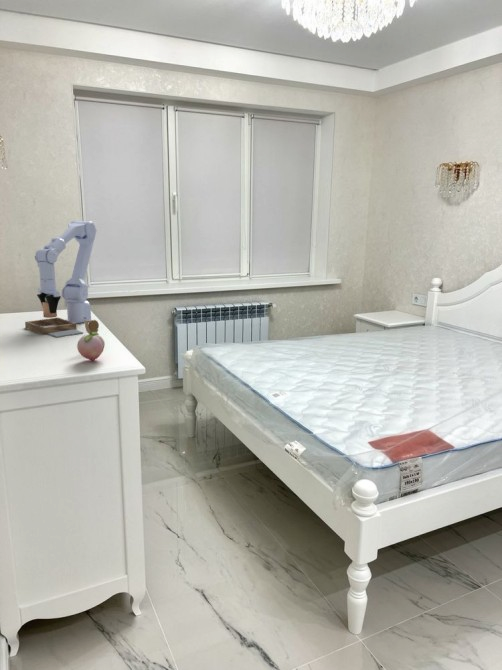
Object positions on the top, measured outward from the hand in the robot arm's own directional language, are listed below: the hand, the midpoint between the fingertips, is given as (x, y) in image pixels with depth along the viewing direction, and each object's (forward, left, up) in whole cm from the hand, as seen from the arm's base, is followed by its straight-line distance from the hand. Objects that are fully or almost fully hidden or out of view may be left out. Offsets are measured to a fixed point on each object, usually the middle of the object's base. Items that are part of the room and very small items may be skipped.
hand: (49, 312), depth 204 cm
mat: (0, +13, -7) cm, 14 cm away
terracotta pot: (0, 0, -2) cm, 2 cm away
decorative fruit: (+12, +52, -7) cm, 54 cm away
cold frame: (0, 0, -7) cm, 7 cm away
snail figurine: (+4, +39, -7) cm, 40 cm away
